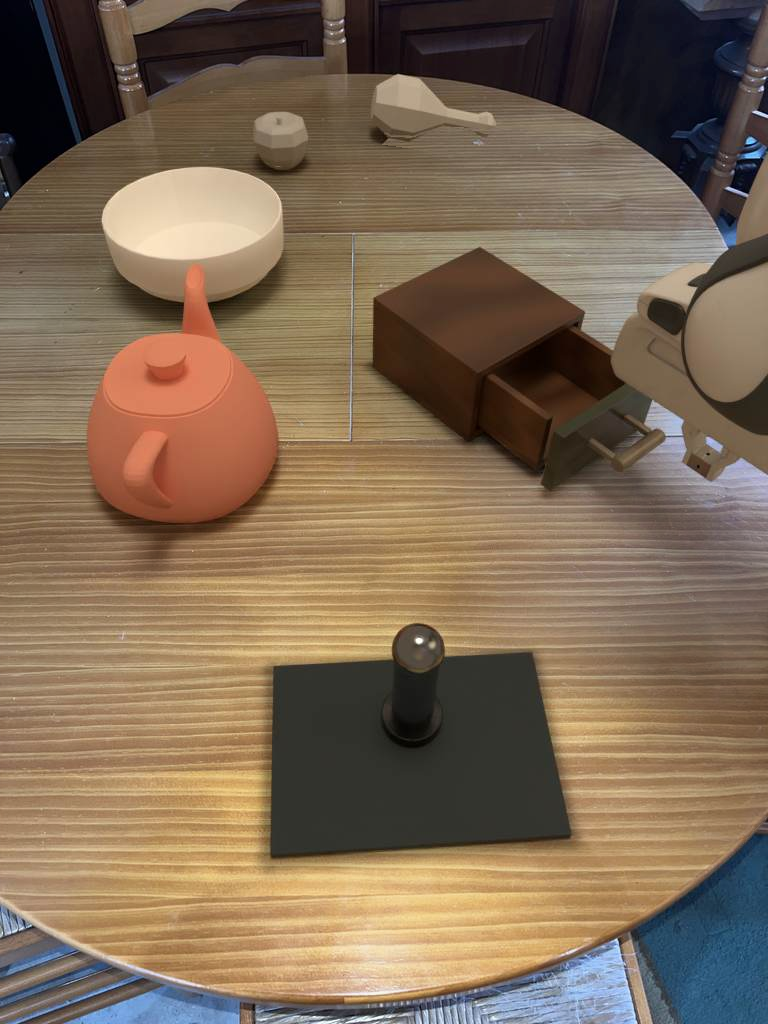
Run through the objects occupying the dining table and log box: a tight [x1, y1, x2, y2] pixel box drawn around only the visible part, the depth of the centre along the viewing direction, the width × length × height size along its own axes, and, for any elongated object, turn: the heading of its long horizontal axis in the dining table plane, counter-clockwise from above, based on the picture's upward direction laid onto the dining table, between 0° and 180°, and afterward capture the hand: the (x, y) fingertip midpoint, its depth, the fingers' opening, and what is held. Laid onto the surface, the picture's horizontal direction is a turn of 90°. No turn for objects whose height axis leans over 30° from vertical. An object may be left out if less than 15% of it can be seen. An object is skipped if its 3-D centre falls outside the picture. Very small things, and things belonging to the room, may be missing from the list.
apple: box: [252, 111, 309, 171], centre depth 112 cm, size 8×8×7 cm
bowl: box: [101, 166, 284, 304], centre depth 93 cm, size 20×20×8 cm
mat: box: [269, 651, 573, 859], centre depth 58 cm, size 20×14×1 cm
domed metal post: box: [381, 622, 446, 748], centre depth 55 cm, size 4×4×12 cm
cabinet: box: [372, 246, 586, 443], centre depth 82 cm, size 15×15×9 cm
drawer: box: [476, 325, 667, 492], centre depth 76 cm, size 18×13×7 cm
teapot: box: [86, 264, 279, 524], centre depth 72 cm, size 25×17×13 cm
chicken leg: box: [370, 73, 497, 143], centre depth 118 cm, size 8×18×8 cm, turn 94°
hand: (701, 469), depth 67 cm, fingers closed
